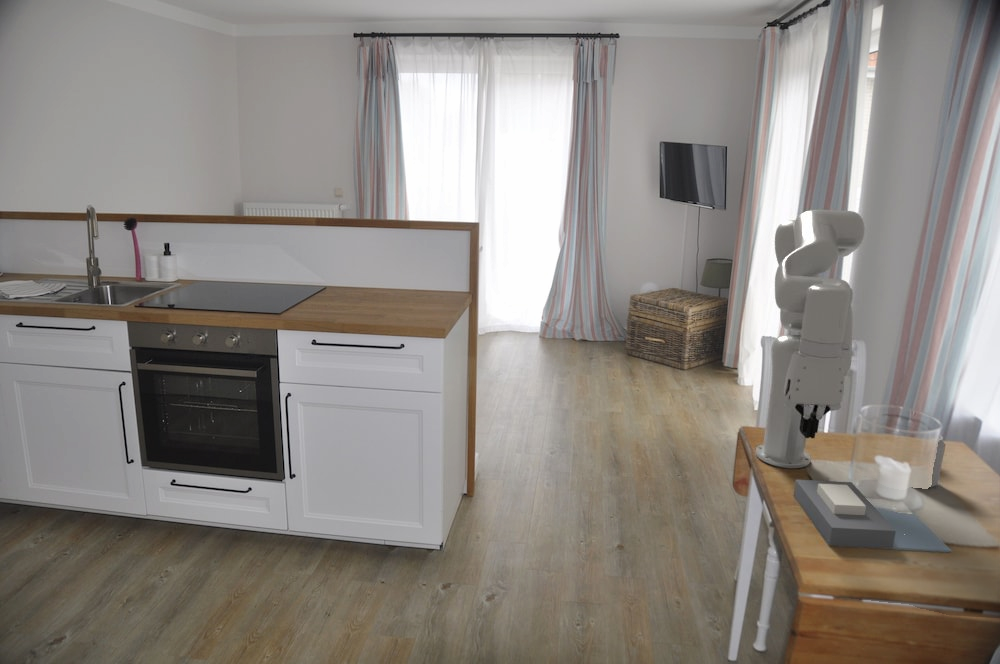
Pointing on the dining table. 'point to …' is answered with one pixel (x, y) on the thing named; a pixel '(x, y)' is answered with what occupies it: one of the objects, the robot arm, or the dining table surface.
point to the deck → (844, 519)
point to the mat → (912, 533)
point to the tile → (841, 499)
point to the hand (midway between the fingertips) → (807, 435)
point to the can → (938, 461)
